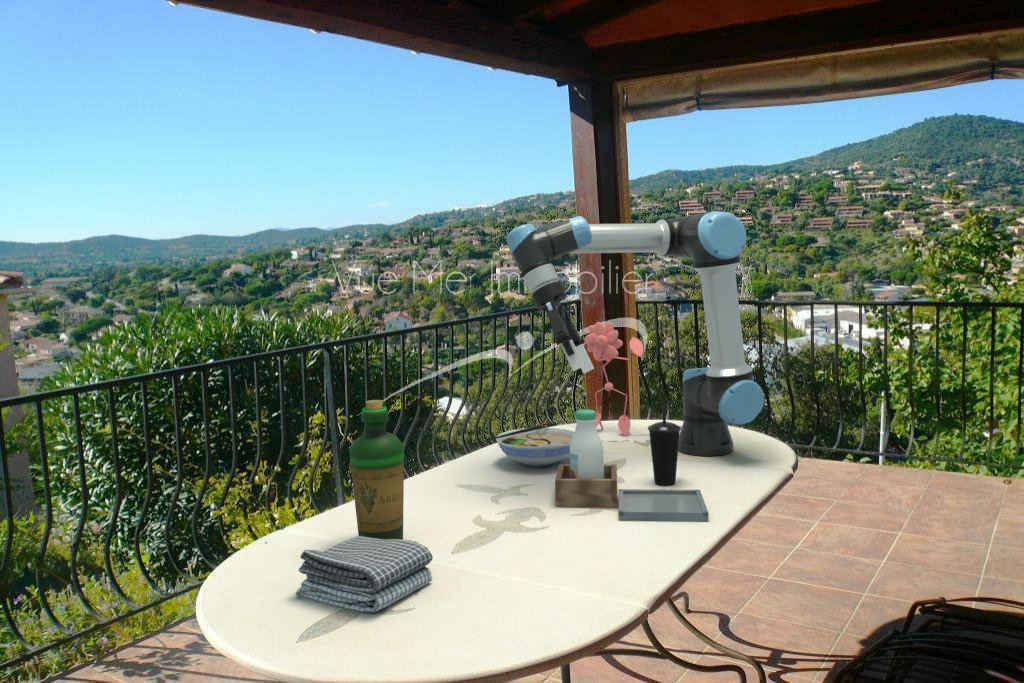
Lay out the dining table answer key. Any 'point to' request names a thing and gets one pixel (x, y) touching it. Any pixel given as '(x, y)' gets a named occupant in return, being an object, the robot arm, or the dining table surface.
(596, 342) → the figurine
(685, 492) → the tray
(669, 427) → the drinking cup
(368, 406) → the bottle
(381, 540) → the towel
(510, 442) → the ramen bowl
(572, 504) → the holder
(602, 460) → the milk bottle
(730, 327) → the robot arm
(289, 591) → the dining table surface
